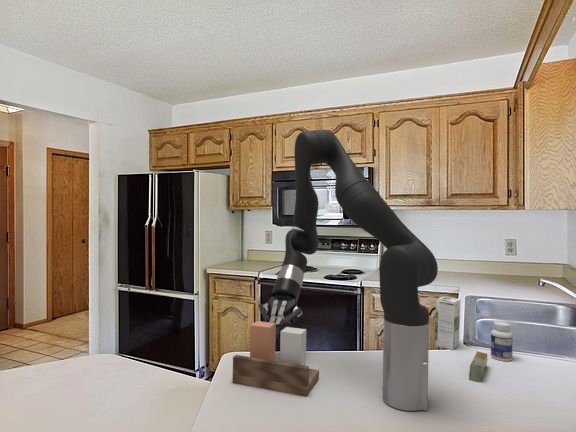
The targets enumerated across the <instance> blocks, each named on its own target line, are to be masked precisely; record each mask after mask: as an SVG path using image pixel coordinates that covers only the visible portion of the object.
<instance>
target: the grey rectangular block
mask: <svg viewBox="0 0 576 432" xmlns="http://www.w3.org/2000/svg"><path fill="white" fill-rule="evenodd" d="M279 336H280V340H279V342H280V346H279V348H280V349H279V362H285V363H291V364H298V365H304V366H307V364H306V363H307V328H298V327H291V326H289V327H286V328H285V327H283V328H282V329H281V330H280V333H279Z"/></svg>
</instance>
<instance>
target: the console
mask: <svg viewBox="0 0 576 432" xmlns="http://www.w3.org/2000/svg"><path fill="white" fill-rule="evenodd" d="M319 378H320V370H319V369H314V368H310V366H308V365H306V366H304V365H298V364H291V363H285V362H280V360H279V361H277V360H275V361H272V360H266V359H260V358H253V357H250V356H245V355H241V354H240V355H239V354H235V355H234V356H232V381H231V383H233V384H238V385H243V386H248V387H254V388H259V389H264V390H271V391H276V392H280V393H284V394H285V393H286V394H290V395H297V396H302V397H308V396H309V393H310V392H311V391H312V390H313V388H314V386H315V385H316V384H317V382H318V380H319Z"/></svg>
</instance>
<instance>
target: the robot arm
mask: <svg viewBox="0 0 576 432" xmlns="http://www.w3.org/2000/svg"><path fill="white" fill-rule="evenodd" d="M321 164H326V165H327V166H329V168H330V169H331V170H332V172H333V174H334V175H335V184H334V185H335V187H334V194H335V199H336V201H337V203H338V205H339V206H340V207H341V209H342V210H343V212H344V213H345V214H346V216H347V217H348V218H349V220H351V221H352V222H353V223H354V224H355V225H357V227H359V228H360V229H362V230H363V231H364V232H366V233H367V234H369V235H370V236H372V237H374V238H375V239H376V240H377V241H378V242H380V243H381V244H382V245H383V246H384V247H385V250H384V251H383V254H382V255H381V258H380V262H379V298H380V299H379V300H380V305H381V308H382V310H383V337H382V338H383V340H382V341H383V345H382V349H383V350H382V387H381V389H382V396H381V397H382V400H383V402H384V403H385V404H386V405H388V406H389V407H392V408H394V409H398V410H401V411H405V412H406V411H407V412H408V411H409V412H416V411H424V412H425V411H426V412H427V411H428V402H429V401H428V399H429V397H428V395H429V392H428V391H429V339H430V337H429V336H430V335H429V334H430V333H429V331H430V310H429V309H428V308H427V307H426V305H425V306H424V305H422V304H421V303H420V302H419V289H418V288H421V287H425V286H428V285H431V284H432V283H433V282H435V280H436V278H437V276H438V273H439V269H438V263H437V259H436V257H435V255H434V253H433V252H432V250H430V249H429V247H428V246H426V244H425V243H424V242H423V241H421V239H419V238H418V237H417V235H416V234H414V233H413V231H411V230H410V229H409V228H408V227H407V226H406V225H405V224H404V223H403V221H402V220H401V219H400V217H398V215H397V214H396V213H395V211H394V210H393V209H392V207H390V206H389V204H388V203H387V202H386V201H385V200H384V199H383V197H382V196H381V194H380V193H379V192H378V190H377V189H376V188H375V187H374V186H373V184H372V183H371V182H370V181H369V180H368V179H367V178H366V177H365V175H363V173H362V172H361V170H360V169H359V168H358V167H357V165H356V164H355V163H354V161H353V160H352V158H351V157H350V155H348V152H347V150H346V149H345V148H344V146H343V145H342V143H341V142H340V140H339V138H338V136H336V135H335V134H334V132H332V131H331V130H327V129H317V130H305V131H301V132H299V134H297V136H296V138H295V143H294V177H295V180H294V181H295V202H294V204H295V205H294V212H293V219H292V220H293V225H294V226H295V227H296V228H293V229H290V230H289V231H288V232H287V233H286V235H285V240H284V242H285V245H284V246H285V253H284V258H283V262H282V265H281V268H280V270H279V272H278V274H277V277H276V280H275V283H274V285H273V288H272V291H271V294H270V297H269V299H268V300H267V302H266V303H263V304H262V303H259V305H258V308H259V311H260V313H261V316H262V317H263V319H264V322H269V323H276V340H278V338H279V336H280V332H281V331H282V330H283V329H284V328H286V327H291V326H292V325H293V324H295V322H297V321H298V320H299V319H300V318H302V317H303V315H304V314H303V310H302V309H301V308H300V307H298V300H299V297H300V293H301V289H302V286H303V283H304V275H305V272H306V269H307V265H308V259H307V256H308V255H314V254H315V253H316V252H317V250H318V249H319V244H320V243H319V235H318V230H317V219H318V213H319V204H320V203H319V198H318V194H317V192H316V189H315V188H314V187H313V184H312V181H311V178H310V174H311V173H310V172H311V167H312V166H314V165H321ZM297 228H298V229H297ZM306 255H307V256H306ZM269 310H270V312H271V313H270V317H269V315H268V311H269Z"/></svg>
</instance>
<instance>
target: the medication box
mask: <svg viewBox="0 0 576 432" xmlns="http://www.w3.org/2000/svg"><path fill="white" fill-rule="evenodd" d="M487 364H488V353H486V352H482V351H476V353H475V355H474V356H473V358H472V360H471V363H470V365H469V374H468V378H469V379H468V380H469V381H471V382H476V383H481V381H482V379H483V377H484V375H485V372H486V369H487Z"/></svg>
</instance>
